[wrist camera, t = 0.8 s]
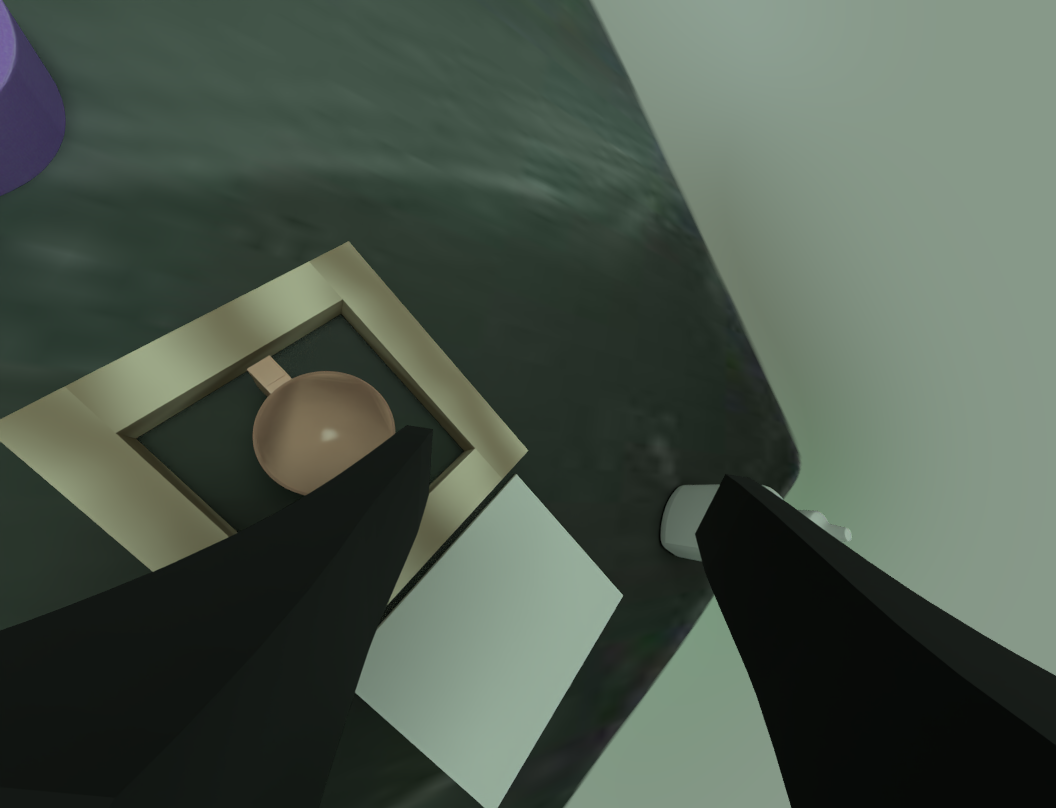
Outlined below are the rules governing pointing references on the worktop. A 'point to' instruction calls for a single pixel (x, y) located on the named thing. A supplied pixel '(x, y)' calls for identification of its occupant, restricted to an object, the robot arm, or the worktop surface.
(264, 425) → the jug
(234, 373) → the holder
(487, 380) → the worktop surface
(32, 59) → the masking tape
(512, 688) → the mat
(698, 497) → the eye dropper bottle
